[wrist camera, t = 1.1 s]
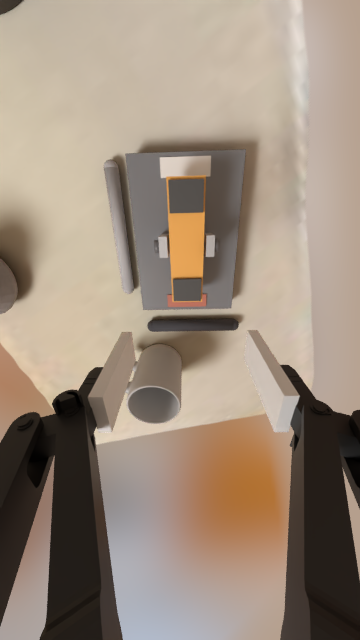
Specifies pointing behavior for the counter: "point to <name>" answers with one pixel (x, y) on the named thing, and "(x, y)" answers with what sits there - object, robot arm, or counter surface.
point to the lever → (186, 235)
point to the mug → (156, 385)
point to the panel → (154, 227)
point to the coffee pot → (7, 287)
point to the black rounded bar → (193, 325)
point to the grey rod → (119, 224)
